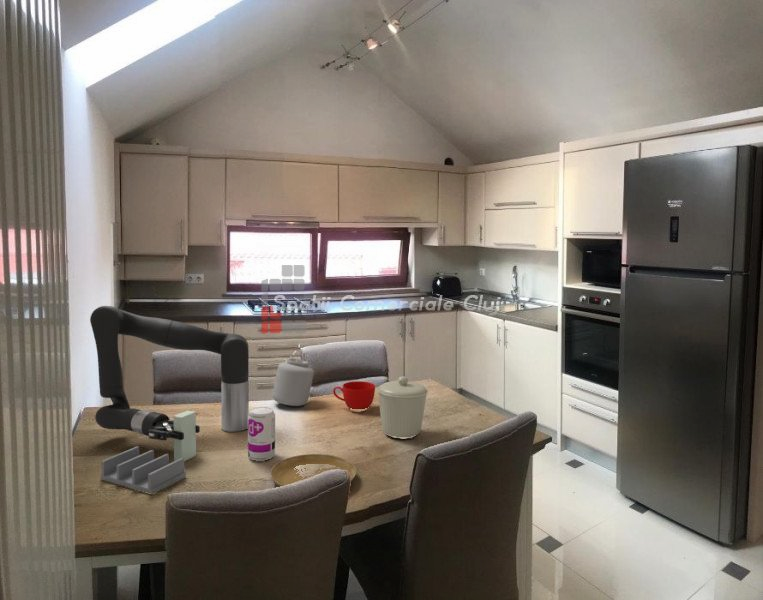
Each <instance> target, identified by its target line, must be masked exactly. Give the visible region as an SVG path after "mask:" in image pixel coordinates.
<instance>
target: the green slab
mask: <svg viewBox="0 0 763 600" xmlns="http://www.w3.org/2000/svg"><path fill="white" fill-rule="evenodd" d="M196 416H197V415H196V411H194V410H188V409H187V410H186V411H183V412H181V413H177V414H175V415H173V420H174V431H179V432H183V433H184V439H183V440H178V439H174V438H173V459H174V460H173V462H174V461H176V460H178V459H180V458H184V462H186V461H188V460H190V459H191V458H194V457H195V456H197V433H196V425H197V422H196V421H197V418H196Z"/></svg>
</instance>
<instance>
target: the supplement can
mask: <svg viewBox="0 0 763 600" xmlns="http://www.w3.org/2000/svg"><path fill="white" fill-rule="evenodd" d="M275 455H276V413H275V412H274V409H273V408H271V407H267V406H260V407H259V406H258V407H253V408H252V409H249V415H248V430H247V457H248V458H249V459H250V460H251V459H252V460H251V461H253V460H256V461H255V462H257V461H263V462H265V461H264V460H268V459H270V460H271V458H272V457H273V458H274V457H275ZM273 458H272V459H273ZM268 461H269V460H268Z"/></svg>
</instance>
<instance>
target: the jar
mask: <svg viewBox="0 0 763 600" xmlns="http://www.w3.org/2000/svg"><path fill="white" fill-rule="evenodd" d="M298 348H300V343H299V344H298ZM301 352H303V351H302V349H301ZM295 353H297V351H296V350H295V351H294V352H293V354H292V355H293V356H294V355H295ZM284 360H286V361H283V362H281V363H279V364H278V366H277V368H276V369H277V370H276V374H275V379H274V385H273V389H272V394H271V395H272V396H271V398H272V399H273V400H274V401H275V402H277V403H279V404H282V405H285V406H291V407H292V406H293V407H303V406H305V405H307V404H308V401H309V399H310V396H311V395H310V394H311V388H312V385H313V379H314V375H315V372H314V371H315V370H314V369H313V368H312V367H310V366H309V364H310V362H308V361H306V360H303V359H299V358H298V359H296V358H291V357H288V358H286V359H285V358H284ZM314 392H316V391H315V390H314ZM312 394H313V392H312ZM311 397H312V396H311ZM302 405H303V406H302Z"/></svg>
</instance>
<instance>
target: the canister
mask: <svg viewBox="0 0 763 600" xmlns="http://www.w3.org/2000/svg"><path fill="white" fill-rule="evenodd" d="M376 391H377V392H378V400H379V411H380V412H379V413H380V414H379V415H380V423H381V429H382V431H384V432H385V433H386V434H388V435H391V436H396V437H411V436H414V435H417V434H418V433H419V432H421V430H422V424H423V421H424V420H423V419H424V414H425V407H426V402H427V401H426V399H427V395H428V394H429V389H428V387H426V386H424V385H423V384H421V383H418V382H416V381H415V382H414V381H411V380H410V381H409V378H408V377H407V376H403V375H402V376H399V377H398V379H397V380H390V381H387V382H384V383H382V384H380V385H379V386H377V388H376ZM384 432H383V433H384ZM385 433H384V434H385ZM386 434H385V435H386ZM419 434H420V433H419ZM419 434H418V435H419ZM418 435H417V436H418Z"/></svg>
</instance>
